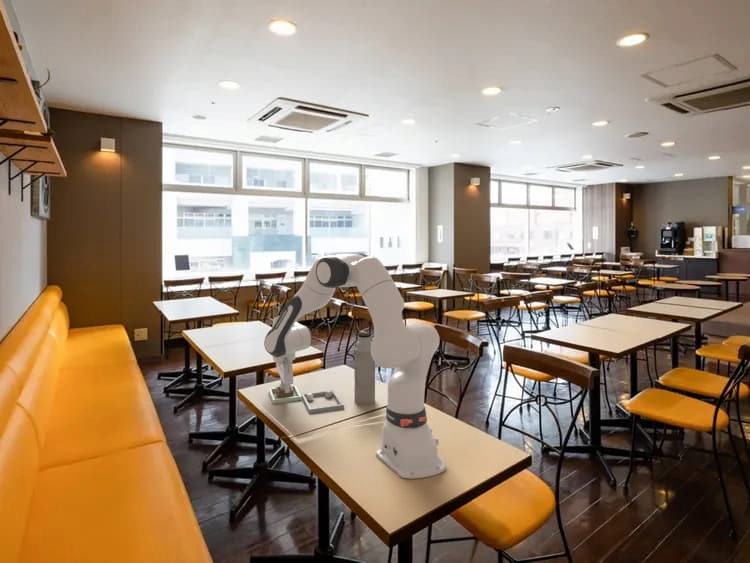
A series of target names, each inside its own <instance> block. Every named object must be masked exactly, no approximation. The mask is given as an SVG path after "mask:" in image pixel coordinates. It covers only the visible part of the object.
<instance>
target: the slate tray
mask: <svg viewBox="0 0 750 563" xmlns="http://www.w3.org/2000/svg"><path fill="white" fill-rule="evenodd" d="M327 391H328V390H325V391H316V392H315V391H314V392H308V393H300V395H301V400H302V401H303V403H304V405H305V407H306V408H307V409H306V410H307V411H308V413H309V414H314V413H321V412H328V411H335V410H342V409H345V404H344V403H343V401H342V400H341V398H340V397H339V396H338V394H337V393H336V391H335V390H334V389H331V390H329V391H331V392H332V393H333V396H332V398H334V400H336V401H335V402H337V404H334V405H332V404H331V405H327V406H318V407H311V405H310V403H309V401H307V399H306V395H307V394H309V393H311V394H313V396H314V397H321V396H322V397H324V396H325V393H326V392H327Z"/></svg>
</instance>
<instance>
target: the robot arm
mask: <svg viewBox="0 0 750 563" xmlns="http://www.w3.org/2000/svg"><path fill="white" fill-rule="evenodd" d="M350 287H351V288H352V287H356V288H357V289H358V292H359V294H360V295H361V297H362V300H363V302H364V304H365V306H366V308H367V310H368V312H369V315H370V317H371V319H372V325H373V330H374V331H373V332H374V333H373V334H374V335H373V339H372V340H371V341H372V344H371V355H372V358H373V360H374V362H375V365H377V366H378V367H380V368H382V369H394V371H393V372H392V374H391V375H390V377H389V379H388V382H387V405H386V408H385V418H386V421H385V422H384V424H383V425H382V427H381V434H380V446H379V447H380V448H379V449H377V450H376V452H375V453H376V454H375V456H376V457H377V458H378V459H379V460H380V461H382V462H383V463H384V464H386V465H387V466H388V467H389V468H390V469H391V470H393V471H394V472H395V473H396V474H397V475H398V476H400V478H403V479H423V478H429V477H432V476H435V475H439V474H441V473H443V472H445V470H446V469H447V466H446V463H445V462H444V460H443V458H442V457H441V455H440V452H439V451H438V446H439V445H440V442H439V438H438V437H434V436H433V429H432V428H431V427H430V426H429V425H428V416H427V411H426V407H425V389H426V388H425V386H426V379H427V374H428V372H429V368H430V365H431V362H432V359H433V356H434V354H435V352H436V351H437V350H438V348H439V346H440V341H441V340H440V338H441V337H440V335H439V332H438V330H437V329H436V328H435V326H433V325H432V324H429V323H419V322H418V323H417V322H416V323H413V324H409V325H405V322H404V319H403V310H404V308H405V300H404V299H403V297H402V294H401V292H400V291H399V289H398V287H397V285H396V283H395V281H394V280H393V277H392V276H391V274H390V273H389V271H388V270H387V268H386V267H385V265H384V264H383V262H381V261H380V259H379V258H377V257H375V256H371V255H368V254H365V253H357V254H356V253H339V254H335V255H333V254H330V255H324V256H320V257H318V258H317V259H316V260H315V262H314V263H313V264H312V266H311V268H310V269H309V272H308V274H307V275H306V277H305V280H304V282H303V284H302V285H301V287H300V288H299V290H298V291H297V292H296V293H295V294H294V295H293V296H292V297H291V298H290V299H289V301H288V302H286V305H285V306H284V308H283V309H282V311H281V313H280V315H277V316H275V317H274V318H273V321H272V324H271V325H272V327H271V329H270V330H269V331H268V332H267V333H266V335H265V337H264V340H263V341H264V342H263V344H264V345H263V346H264V348H265V351H266V352H267V353H268V354H269V355H271V356H272V360H273V361H274V362H275V366H276V371H277V373H278V375H279V376H280V377H279V378H280V384H284V387H285V388H284V391H285V393H289V392H290V390H289V388H290V385H293V384H294V372H293V371H294V370H293V361H294V360H296V353H297V352H300V351H303V350H306V349H309V348H310V347H311V344H312V343H313V342H312V341H313V334H312V331H311V330H310V328H309V327H308V326H306V325H303V324H302V323H299V321H298V320H299V319H301V317H302V318H303V316H306V315H307V314H310V313H312V312H314V311H317V310H319V309H322V308H324V307H325V306H327V305H328V304H329V302H330V301H331V299H332V298H333V296H334V293H335V292H336V288H337V289H338V288H350Z"/></svg>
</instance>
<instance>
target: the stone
mask: <svg viewBox="0 0 750 563" xmlns="http://www.w3.org/2000/svg"><path fill="white" fill-rule="evenodd" d="M278 387H280V391H284V388H285V387H284V384H281V383H280V384H279V386H278ZM289 390H290V388H289Z"/></svg>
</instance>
